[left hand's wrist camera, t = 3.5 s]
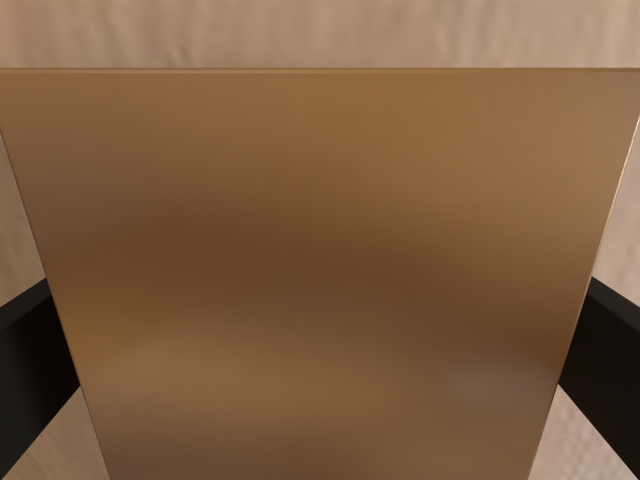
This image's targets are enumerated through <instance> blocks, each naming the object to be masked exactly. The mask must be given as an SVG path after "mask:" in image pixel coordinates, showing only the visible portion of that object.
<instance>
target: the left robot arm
mask: <svg viewBox="0 0 640 480" xmlns="http://www.w3.org/2000/svg"><path fill="white" fill-rule="evenodd" d="M558 384H559V385H560V386H561V388H562V389H563V390H564V391H565V392H566V394H567V395H568V396H569V397H570V398H571V400H572V401H573V402H574V403H575V404H576V406H577V407H578V408H579V409H580V410H581V412H582V413H583V414H584V415H585V416H586V418H587V419H588V420H589V421H590V422H591V424H592V425H593V426H594V427H595V428H596V430H597V431H598V432H599V433H600V434H601V436H602V437H603V438H604V439H605V440H606V442H607V443H608V444H609V445H610V446H611V448H612V449H613V450H614V451H615V452H616V453H617V455H618V456H619V457H620V458H621V459H622V461H623V462H624V463H625V464H626V465H627V467H628V468H629V469H630V470H631V471H632V473H633V474H634V475H635V476H636V477H637V479H638V480H640V307H638V306H637V305H635V304H634V303H632V302H631V301H629V300H628V299H626V298H625V297H623V296H622V295H620V294H619V293H617V292H615V291H614V290H612V289H611V288H609V287H608V286H606V285H605V284H603V283H602V282H600V281H599V280H597V279H596V278H594V277H592V276H591V280H590V283H589V286H588V289H587V292H586V296H585V299H584V302H583V305H582V308H581V312H580V315H579V318H578V321H577V324H576V328H575V331H574V334H573V337H572V340H571V343H570V347H569V350H568V353H567V356H566V359H565V363H564V366H563V369H562V372H561V375H560V379H559V382H558ZM79 386H80V382H79V379H78V376H77V373H76V369H75V366H74V363H73V360H72V357H71V354H70V351H69V347H68V344H67V341H66V338H65V335H64V332H63V328H62V325H61V322H60V319H59V316H58V313H57V309H56V306H55V303H54V300H53V297H52V294H51V290H50V287H49V284H48V281H47V278H44V279H43V280H41V281H40V282H38V283H37V284H35V285H34V286H32V287H31V288H29V289H28V290H26V291H25V292H23V293H21V294H20V295H18V296H17V297H15V298H14V299H12V300H11V301H9V302H8V303H6V304H5V305H3V306H2V307H0V480H2V479H3V477H4V476H5V475H6V474H7V473H8V471H9V470H10V469H11V468H12V467H13V465H14V464H15V463H16V462H17V461H18V459H19V458H20V457H21V456H22V455H23V454H24V452H25V451H26V450H27V449H28V448H29V446H30V445H31V444H32V443H33V442H34V440H35V439H36V438H37V437H38V436H39V434H40V433H41V432H42V431H43V430H44V428H45V427H46V426H47V425H48V424H49V422H50V421H51V420H52V419H53V418H54V416H55V415H56V414H57V413H58V412H59V410H60V409H61V408H62V407H63V406H64V404H65V403H66V402H67V401H68V400H69V398H70V397H71V396H72V395H73V394H74V392H75V391H76V390H77V389H78V388H79Z"/></svg>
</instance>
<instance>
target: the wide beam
mask: <svg viewBox="0 0 640 480" xmlns="http://www.w3.org/2000/svg"><path fill="white" fill-rule="evenodd" d="M639 123H640V68H0V132H1V136H2V139H3V142H4V145H5V148H6V151H7V155H8V158H9V161H10V164H11V167H12V170H13V174H14V177H15V180H16V183H17V186H18V189H19V193H20V196H21V199H22V202H23V205H24V208H25V211H26V215H27V218H28V221H29V224H30V227H31V230H32V234H33V237H34V240H35V243H36V246H37V249H38V253H39V256H40V259H41V262H42V265H43V268H44V272H45V275H46V278H47V281H48V284H49V287H50V290H51V294H52V297H53V300H54V303H55V306H56V309H57V313H58V316H59V319H60V322H61V325H62V328H63V332H64V335H65V338H66V341H67V344H68V347H69V351H70V354H71V357H72V360H73V363H74V366H75V369H76V373H77V376H78V379H79V382H80V385H81V388H82V392H83V395H84V398H85V401H86V404H87V407H88V411H89V414H90V417H91V420H92V423H93V426H94V430H95V433H96V436H97V439H98V442H99V445H100V448H101V452H102V455H103V458H104V461H105V464H106V467H107V471H108V474H109V477H110V480H528V477H529V474H530V471H531V468H532V465H533V461H534V458H535V455H536V452H537V449H538V446H539V442H540V439H541V436H542V433H543V430H544V426H545V423H546V420H547V417H548V414H549V410H550V407H551V404H552V401H553V398H554V394H555V391H556V388H557V385H558V382H559V379H560V375H561V372H562V369H563V366H564V363H565V359H566V356H567V353H568V350H569V347H570V343H571V340H572V337H573V334H574V331H575V328H576V324H577V321H578V318H579V315H580V312H581V308H582V305H583V302H584V299H585V296H586V292H587V289H588V286H589V283H590V280H591V276H592V273H593V270H594V267H595V264H596V261H597V257H598V254H599V251H600V248H601V245H602V241H603V238H604V235H605V232H606V229H607V225H608V222H609V219H610V216H611V213H612V209H613V206H614V203H615V200H616V197H617V194H618V190H619V187H620V184H621V181H622V178H623V174H624V171H625V168H626V165H627V162H628V158H629V155H630V152H631V149H632V146H633V143H634V139H635V136H636V133H637V130H638V127H639Z"/></svg>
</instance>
